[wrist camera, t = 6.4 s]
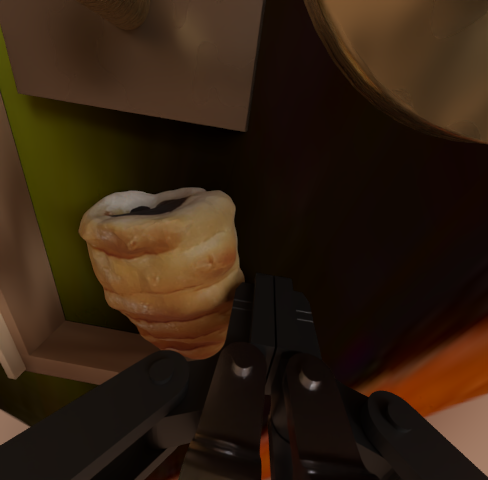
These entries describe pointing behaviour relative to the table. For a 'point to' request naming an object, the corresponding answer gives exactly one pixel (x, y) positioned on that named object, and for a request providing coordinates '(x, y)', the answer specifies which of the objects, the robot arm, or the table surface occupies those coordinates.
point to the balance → (251, 57)
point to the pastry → (168, 264)
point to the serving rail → (45, 297)
